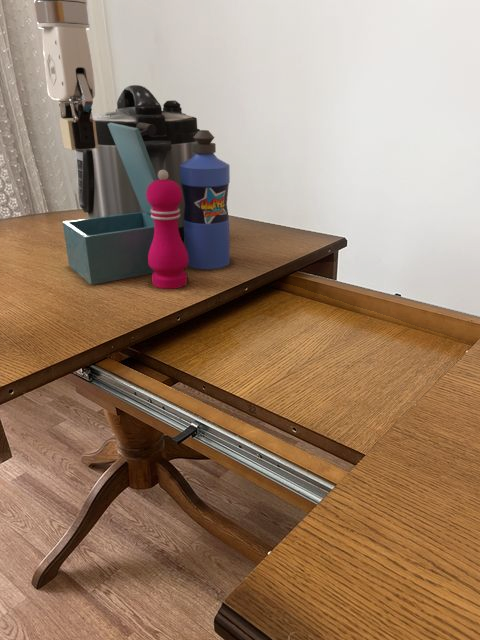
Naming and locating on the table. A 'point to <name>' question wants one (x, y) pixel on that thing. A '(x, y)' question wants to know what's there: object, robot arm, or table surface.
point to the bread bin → (110, 246)
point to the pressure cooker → (106, 164)
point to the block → (68, 133)
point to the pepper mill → (166, 234)
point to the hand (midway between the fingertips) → (80, 145)
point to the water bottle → (206, 205)
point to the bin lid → (135, 157)
